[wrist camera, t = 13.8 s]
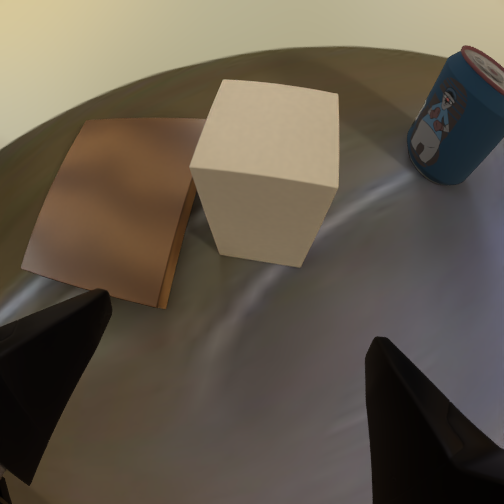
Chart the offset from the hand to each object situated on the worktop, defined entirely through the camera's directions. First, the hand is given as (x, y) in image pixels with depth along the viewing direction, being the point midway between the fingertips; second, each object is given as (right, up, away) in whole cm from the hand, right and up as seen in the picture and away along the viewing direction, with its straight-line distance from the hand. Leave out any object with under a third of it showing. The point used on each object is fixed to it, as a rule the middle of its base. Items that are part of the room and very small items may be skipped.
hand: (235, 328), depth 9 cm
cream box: (+2, +4, +12) cm, 12 cm away
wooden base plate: (-10, +6, +12) cm, 17 cm away
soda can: (+18, +11, +14) cm, 25 cm away
